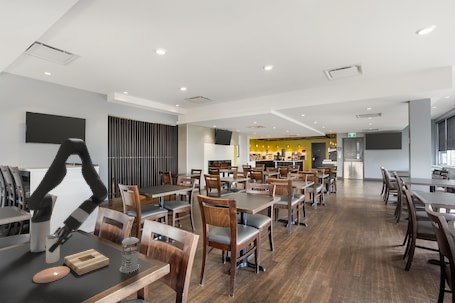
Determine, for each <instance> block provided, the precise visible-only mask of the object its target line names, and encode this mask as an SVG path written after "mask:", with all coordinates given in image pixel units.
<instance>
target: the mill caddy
mask: <svg viewBox="0 0 455 303" xmlns="http://www.w3.org/2000/svg"><path fill="white" fill-rule="evenodd" d="M63 258H64V261H63V262H64V264H65V265H66V266H67V267H69V268H70V270H71V269H72V271H73V272H75V273H76V274H77V275H79V276H81V275H84V274H86V273H88V272H92V271H94V270H98V269H101V268H103V267H107V266H109V265H110V258H108V257H107V256H105V255H103V253H100V252H98V251H97V250H95V249H94V248H91V249H88V250H84V251H81V252H77V253H74V254H71V255H67V256H64V257H63Z"/></svg>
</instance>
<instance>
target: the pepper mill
mask: <svg viewBox="0 0 455 303" xmlns="http://www.w3.org/2000/svg"><path fill="white" fill-rule="evenodd" d="M57 237H58V234H54V233H53V234H50V235H49V236H48V238H46V250H45V263H46V264H52V263H53V264H54V263H56V262H58V261H60V246H58V247H57V248H56V249H55V250H54V252H52V253H51V252H49V251H48V249H49V248H50V247H51V246H52V245H53V244H54V243H55V242H56V240H57V239H58V238H57Z"/></svg>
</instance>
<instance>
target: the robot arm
mask: <svg viewBox="0 0 455 303" xmlns="http://www.w3.org/2000/svg"><path fill="white" fill-rule="evenodd" d="M76 155H77V156H78V157H79V159H80V161H81V171H80V172H81V175H82V178H83V179H84V181H85V183H86V184H87V186H88V187H89V190H90V191H91V192H92V195H91V196H89V198H88V199H85V200H84V201H83V202H82V203H80V204H79V205H78V207H77V208H76V209H74V211H72V212H71V214H69V215H68V217H66V218H65V220H64V221H63V222H62V223H63V226H62V227H61V226H59V227H57V229H56V230H55V231H54V233H53V234H58V237H57V238H58V239H57V240H56V242H55V243H54V244H53V245H52V246H51V247H50V248H49V249H48V251H49V252H51V253H52V252H54V250H55V249H56V248H57V247H58V246H59V247H60V246H64V245H65V244H66V243H67V241H69V240H70V238H72V237H73V233H72V232H73V231H75V232H77V231H78V230H79V228H80V227H81V226H83V224H84V223H85V221H87V219H88V218H89V217H90V215H91V214H93V212H94V211H95V209H97V208H98V207H99V206H100V205H101V204H103V203H104V201H106V199H108V195H109V192H108V188H107V186H106V185H105V183H104V182H103V180H102V179H101V177H100V176H99V173H98V172H97V170H96V168H95V166H94V163H93V160H92V157H91V155H90V152H89V150H88V147H87V143H86V142H85V141H84V140H83V139H81V138H65V139H64V140H63V141H61V143H60V146H59V148H58V150H57V152H56V155H55V156H54V159H53V160H52V162H51V164H50V166H49V168H48V169H47V170H46V172H45V174H44V176H43V178H42V179H41V181H39V184H38V185H37V187H36V188H35V190H33V192H32V193H31V195H30V196H29V197H28V200H27V203H26V206H27V209H28V210H29V211H33V212H35V211H38V212H37V213H36V214H35V215H32V216H31V218H30V252H31V253H40V252H44V251H45V252H46V238H48V236H49V235H51V218H52V214H53V204H54V203H53V196H52V195H51V194H50V192H51V191H53V190H54V189H56V188H57V187H58V186H59V185H60V184H61V183H62V182H63V181H64V179H65V177H66V176H67V172H68V169H67V163H66V162H67V161H68V159H69V158H70V157H71V156H76Z"/></svg>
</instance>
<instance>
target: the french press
mask: <svg viewBox="0 0 455 303" xmlns="http://www.w3.org/2000/svg"><path fill="white" fill-rule="evenodd" d="M133 221H134V220H133V218H129V219H128V222H130V223H129V224H130V225H129V230H130V232H129V235H130V236H129V237H126V238H124V239H123V240H122V241H121V244H120V247H122V245H123V246H124V247H123V249H122V251H120V253H121V267H120V268H119V271H120V272H121V273H125V274H127V273H128V274H129V272H130V273H133V271H134V272H136V271H137V269H138V268H139V265H140V264H139V247H138V246H133V244H137V243H139V241H140V239H139V238H137V237H134V236H131V235H132V234H131V233H132V232H131V231H132V226H131V225H132V222H133ZM128 245H129V246H128ZM125 246H126V247H125ZM139 269H140V268H139ZM139 269H138V270H139ZM135 270H136V271H135Z"/></svg>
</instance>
